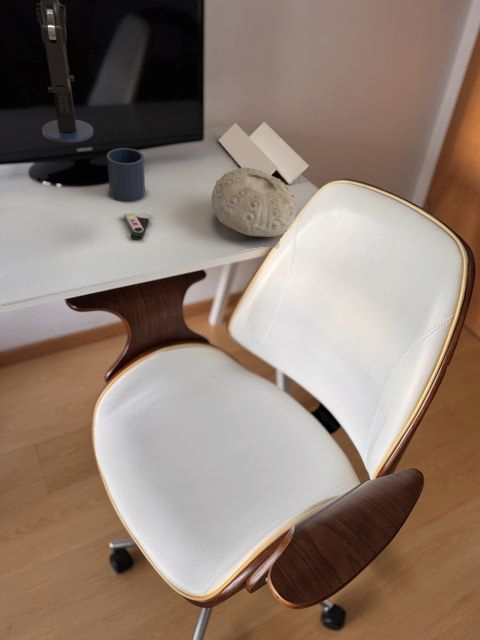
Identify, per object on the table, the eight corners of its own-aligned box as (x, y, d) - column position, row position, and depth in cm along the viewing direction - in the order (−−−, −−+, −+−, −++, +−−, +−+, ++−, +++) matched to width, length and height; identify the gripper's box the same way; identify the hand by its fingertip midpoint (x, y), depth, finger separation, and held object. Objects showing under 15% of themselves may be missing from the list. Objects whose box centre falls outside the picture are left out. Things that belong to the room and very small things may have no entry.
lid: (42, 146, 89) (32, 87, 83) (43, 125, 95) (34, 69, 88) (94, 146, 91) (88, 89, 85) (93, 125, 97) (87, 70, 90)
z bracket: (271, 201, 132) (257, 186, 127) (232, 155, 148) (218, 140, 143) (308, 165, 130) (296, 148, 125) (264, 122, 145) (251, 106, 140)
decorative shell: (261, 190, 124) (273, 151, 117) (304, 241, 117) (320, 203, 109) (193, 201, 115) (201, 160, 108) (235, 257, 108) (247, 217, 100)
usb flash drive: (142, 240, 107) (142, 235, 106) (115, 236, 107) (115, 232, 106) (150, 217, 113) (150, 213, 112) (125, 214, 113) (125, 210, 112)
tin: (111, 202, 116) (108, 164, 110) (109, 185, 121) (105, 148, 115) (146, 201, 118) (145, 163, 112) (142, 184, 123) (141, 147, 117)
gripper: (72, -27, 71) (92, 147, 88) (71, -51, 82) (89, 109, 98) (10, -31, 69) (42, 147, 86) (18, -55, 80) (45, 108, 96)
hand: (67, 126), depth 92 cm, fingers closed on lid, 3 cm apart
